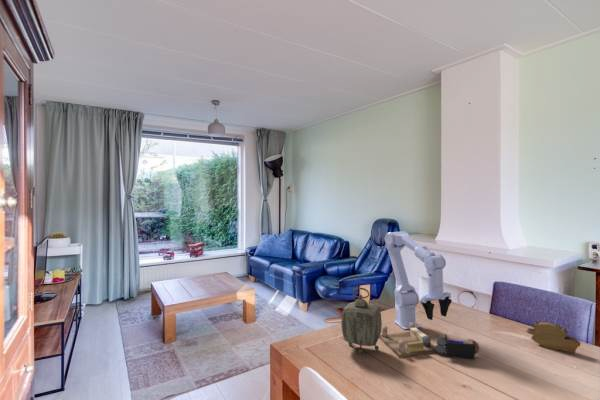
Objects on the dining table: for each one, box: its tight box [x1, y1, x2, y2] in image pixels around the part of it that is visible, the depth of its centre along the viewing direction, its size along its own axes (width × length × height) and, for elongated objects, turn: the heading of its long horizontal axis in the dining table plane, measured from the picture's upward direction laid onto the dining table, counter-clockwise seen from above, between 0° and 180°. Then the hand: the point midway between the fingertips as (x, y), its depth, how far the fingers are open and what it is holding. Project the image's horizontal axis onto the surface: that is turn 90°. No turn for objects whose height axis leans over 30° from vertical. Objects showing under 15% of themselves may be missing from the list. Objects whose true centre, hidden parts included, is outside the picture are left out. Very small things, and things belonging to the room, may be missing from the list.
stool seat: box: [379, 323, 437, 358], centre depth 129 cm, size 17×17×5 cm
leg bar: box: [409, 328, 432, 347], centre depth 129 cm, size 11×3×3 cm, turn 12°
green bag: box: [340, 287, 383, 354], centre depth 125 cm, size 14×9×25 cm, turn 65°
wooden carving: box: [525, 321, 581, 354], centre depth 123 cm, size 16×5×10 cm, turn 47°
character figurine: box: [435, 333, 480, 361], centre depth 119 cm, size 8×7×15 cm
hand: (436, 317), depth 131 cm, fingers open, 7 cm apart
